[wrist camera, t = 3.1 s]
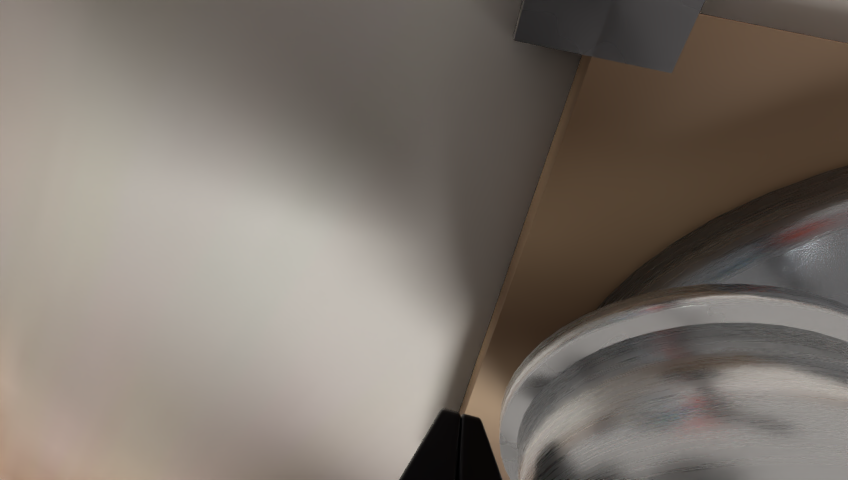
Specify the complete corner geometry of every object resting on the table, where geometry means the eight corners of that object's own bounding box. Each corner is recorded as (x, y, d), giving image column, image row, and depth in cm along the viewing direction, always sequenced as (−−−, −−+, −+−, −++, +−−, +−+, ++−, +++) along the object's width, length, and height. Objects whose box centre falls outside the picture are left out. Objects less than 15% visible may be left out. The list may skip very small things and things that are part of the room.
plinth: (942, 595, 15) (968, 630, 14) (442, 459, 16) (439, 484, 15) (1702, 219, 7) (1868, 249, 6) (601, -3, 8) (613, -5, 7)
